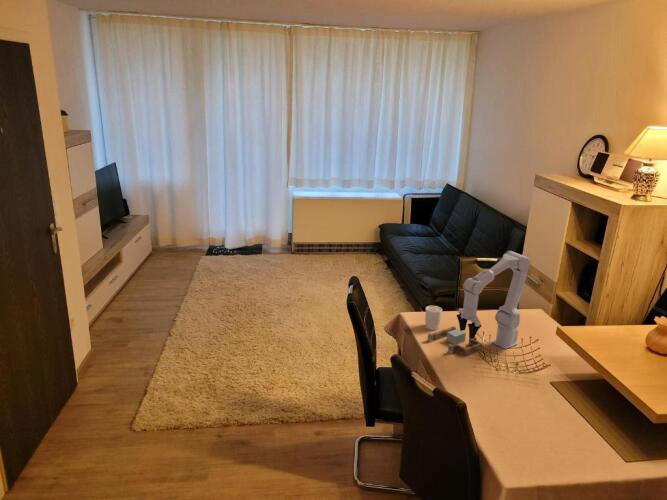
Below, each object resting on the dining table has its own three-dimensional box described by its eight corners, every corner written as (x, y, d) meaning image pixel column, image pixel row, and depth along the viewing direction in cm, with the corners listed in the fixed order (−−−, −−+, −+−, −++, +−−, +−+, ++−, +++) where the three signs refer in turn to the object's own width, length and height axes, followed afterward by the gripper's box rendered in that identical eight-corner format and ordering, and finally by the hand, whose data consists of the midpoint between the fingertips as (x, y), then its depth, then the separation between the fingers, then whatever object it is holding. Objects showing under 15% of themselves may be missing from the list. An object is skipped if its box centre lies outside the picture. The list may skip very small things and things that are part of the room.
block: (456, 337, 236) (457, 328, 234) (464, 341, 232) (465, 332, 231) (446, 340, 232) (447, 332, 231) (454, 345, 228) (455, 336, 227)
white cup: (420, 325, 247) (422, 306, 244) (433, 322, 250) (435, 304, 247) (430, 332, 240) (432, 313, 237) (443, 329, 243) (445, 310, 240)
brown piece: (452, 331, 241) (453, 324, 240) (484, 348, 226) (485, 341, 225) (427, 340, 231) (428, 333, 230) (459, 358, 216) (460, 351, 215)
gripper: (453, 300, 219) (450, 327, 223) (471, 313, 205) (467, 343, 210) (467, 298, 221) (464, 326, 225) (486, 312, 207) (482, 341, 212)
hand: (467, 334), depth 217 cm, fingers open, 7 cm apart
